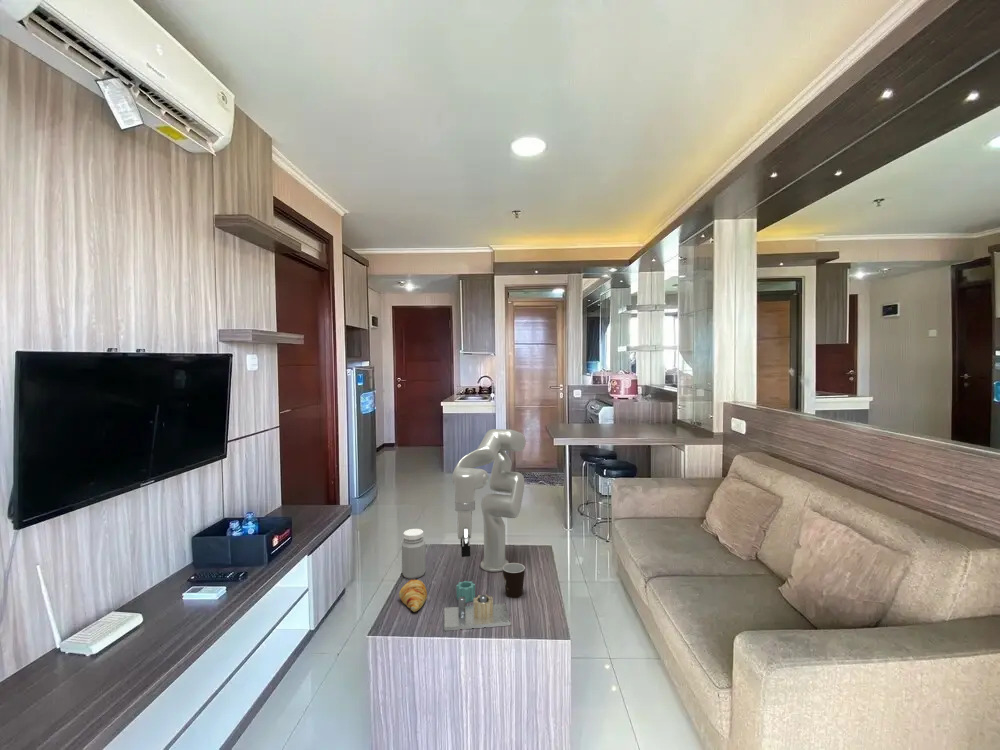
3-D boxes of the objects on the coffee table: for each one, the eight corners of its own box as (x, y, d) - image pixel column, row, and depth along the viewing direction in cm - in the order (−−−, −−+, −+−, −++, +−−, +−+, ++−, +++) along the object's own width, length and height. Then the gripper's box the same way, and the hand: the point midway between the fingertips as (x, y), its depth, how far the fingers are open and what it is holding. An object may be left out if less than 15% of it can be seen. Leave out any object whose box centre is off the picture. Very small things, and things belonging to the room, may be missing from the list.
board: (444, 611, 152) (444, 590, 152) (505, 606, 155) (505, 586, 155) (444, 630, 140) (444, 608, 140) (510, 625, 143) (510, 603, 143)
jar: (416, 567, 188) (416, 526, 188) (430, 574, 181) (429, 531, 181) (397, 574, 181) (397, 532, 181) (410, 582, 174) (410, 537, 174)
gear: (456, 594, 164) (456, 581, 164) (474, 593, 165) (474, 580, 165) (456, 603, 157) (456, 590, 157) (475, 602, 158) (475, 588, 158)
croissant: (423, 623, 151) (434, 601, 152) (398, 613, 148) (409, 592, 149) (417, 593, 171) (427, 574, 172) (395, 584, 169) (404, 565, 170)
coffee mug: (523, 600, 159) (523, 573, 159) (500, 598, 160) (500, 571, 160) (527, 585, 170) (527, 560, 170) (506, 583, 172) (506, 559, 172)
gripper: (454, 499, 169) (454, 543, 169) (455, 513, 152) (455, 561, 152) (473, 499, 170) (473, 542, 170) (476, 512, 153) (476, 560, 153)
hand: (465, 551), depth 161 cm, fingers open, 9 cm apart
